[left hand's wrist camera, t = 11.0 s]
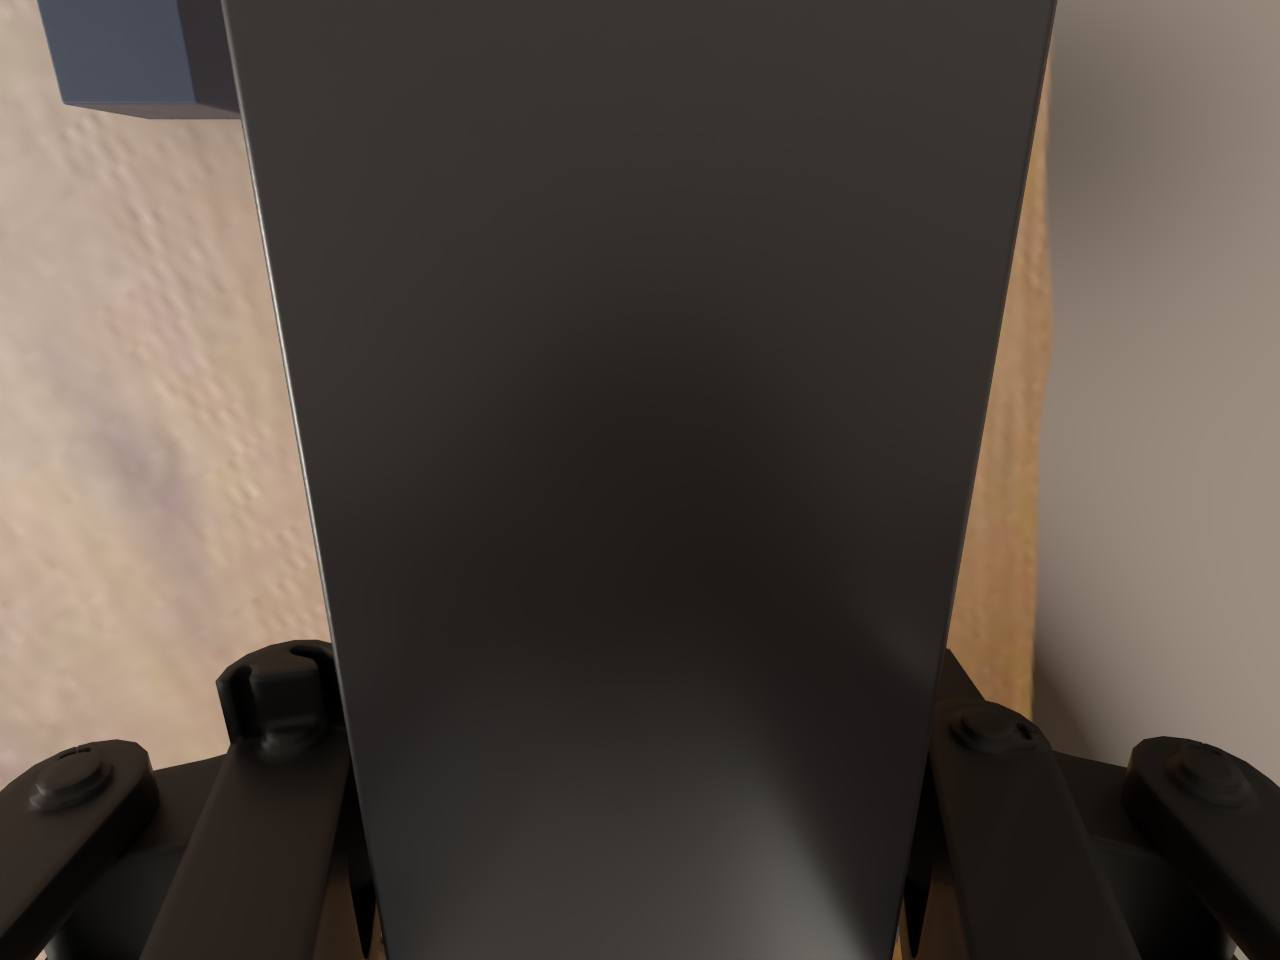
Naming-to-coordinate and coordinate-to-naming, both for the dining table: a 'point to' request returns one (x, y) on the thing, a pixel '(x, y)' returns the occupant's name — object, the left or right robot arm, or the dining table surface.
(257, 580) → the dining table surface
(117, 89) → the cube
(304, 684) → the left robot arm
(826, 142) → the block
